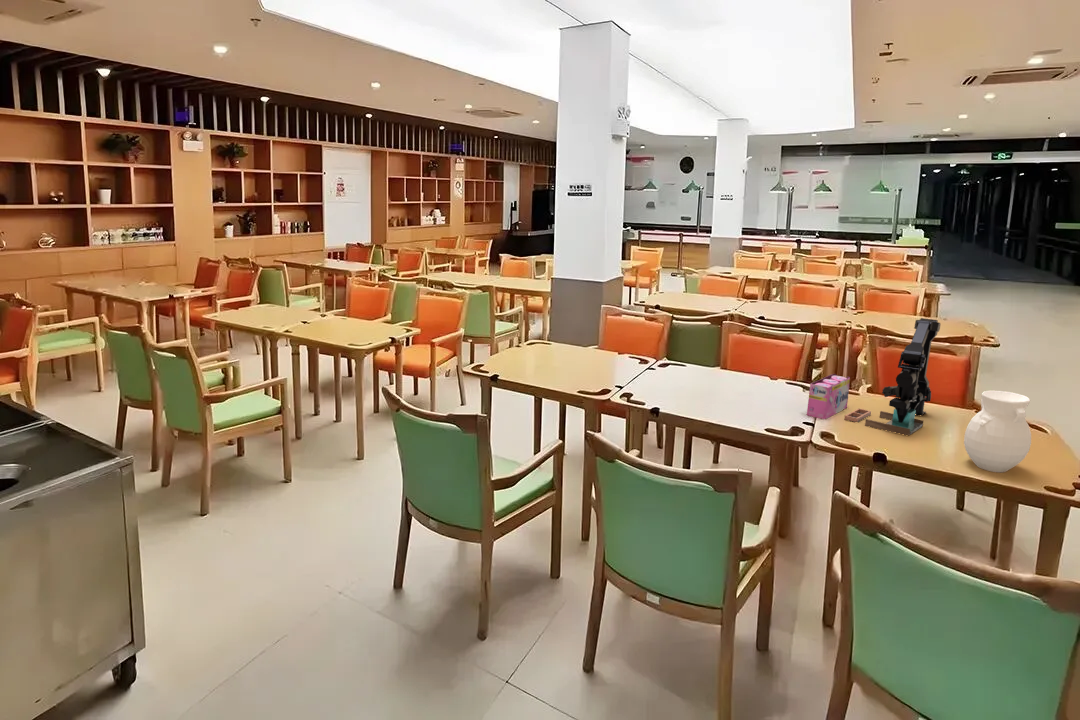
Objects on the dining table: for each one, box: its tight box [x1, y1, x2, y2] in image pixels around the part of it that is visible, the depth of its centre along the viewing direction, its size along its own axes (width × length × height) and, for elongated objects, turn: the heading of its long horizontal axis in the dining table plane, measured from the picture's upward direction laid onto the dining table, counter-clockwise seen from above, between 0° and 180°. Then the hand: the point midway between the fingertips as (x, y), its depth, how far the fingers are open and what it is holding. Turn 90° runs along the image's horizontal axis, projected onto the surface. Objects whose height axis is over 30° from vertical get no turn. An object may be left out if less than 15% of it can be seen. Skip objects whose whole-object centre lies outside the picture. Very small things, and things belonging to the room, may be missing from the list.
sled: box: [885, 408, 923, 435], centre depth 270 cm, size 13×10×7 cm
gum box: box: [806, 373, 851, 420], centre depth 290 cm, size 24×8×14 cm, turn 135°
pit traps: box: [844, 408, 872, 423], centre depth 283 cm, size 14×5×2 cm, turn 135°
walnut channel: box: [864, 410, 924, 437], centre depth 273 cm, size 16×16×2 cm
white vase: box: [963, 389, 1032, 473], centre depth 231 cm, size 19×18×25 cm
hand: (903, 420), depth 271 cm, fingers closed on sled, 6 cm apart
